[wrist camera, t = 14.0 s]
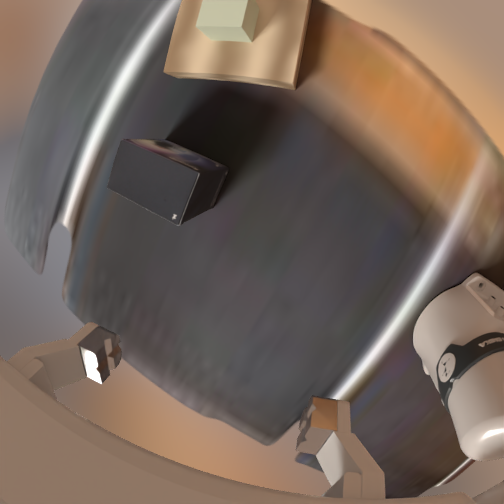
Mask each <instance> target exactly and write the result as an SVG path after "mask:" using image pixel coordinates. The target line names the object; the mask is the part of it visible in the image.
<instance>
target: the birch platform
mask: <svg viewBox="0 0 504 504" xmlns="http://www.w3.org/2000/svg"><path fill="white" fill-rule="evenodd" d="M202 1H203V0H182V2H181V5H180V9H179V12H178V16H177V19H176V23H175V27H174V30H173V34H172V38H171V42H170V46H169V50H168V55H167V59H166V63H165V68H164V73H167V74H169V75H171V76H174V77H176V78H193V79H211V80H224V81H235V82H244V83H252V84H260V85H267V86H274V87H280V88H286V89H292V90H295V89H296V84H297V79H298V73H299V68H300V63H301V57H302V52H303V47H304V41H305V36H306V30H307V25H308V20H309V14H310V9H311V3H312V0H256V2H257V5H258V7H259V14H258V18H257V22H256V27H255V31H254V36H253V40H252V42H238V41H215V40H210V39H209V38H208V37H207V36H206V35H205V34H204V33H203V32H201V31H200V30H199V29H198V28H197V27H196V23H197V19H198V15H199V12H200V8H201V5H202Z"/></svg>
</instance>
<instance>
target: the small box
mask: <svg viewBox="0 0 504 504" xmlns="http://www.w3.org/2000/svg"><path fill="white" fill-rule="evenodd" d="M228 171H229V168H228V167H226V166H224V165H222V164H220V163H218V162H216V161H213V160H211V159H209V158H207V157H205V156H202V155H200V154H198V153H196V152H193V151H191V150H189V149H187V148H184V147H182V146H180V145H177V144H175V143H173V142H170V141H168V140H163V139H122V140H121V142H120V145H119V148H118V151H117V154H116V157H115V160H114V164H113V167H112V171H111V174H110V178H109V182H108V185H107V188H108V189H110V190H112V191H114V192H115V193H117V194H119V195H121V196H123V197H125V198H127V199H128V200H130V201H132V202H134V203H136V204H138V205H140V206H142V207H143V208H145V209H147V210H149V211H151V212H153V213H155V214H157V215H158V216H160V217H162V218H164V219H166V220H168V221H170V222H172V223H174V224H176V225H177V226H179V225H182V224H183V223H184V222H186V221H188V220H190V219H192V218H194V217H195V216H197V215H199V214H201V213H203V212H205V211H207V210H209V209H212V208H214V205H215V201H216V200H217V197H218V194H219V192H220V189H221V187H222V185H223V183H224V181H225V179H226V177H227V173H228Z"/></svg>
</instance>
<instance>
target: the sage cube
mask: <svg viewBox="0 0 504 504" xmlns="http://www.w3.org/2000/svg"><path fill="white" fill-rule="evenodd" d="M258 14H259V7H258V5H257V2H256V0H203V1H202V5H201V8H200V12H199V15H198V19H197V23H196V27H197V28H198V29H199V30H200V31H201V32H203V33H204V34H205V35H206V36H207V37H208V38H209V39H210V40H215V41H238V42H252V40H253V36H254V31H255V27H256V22H257V18H258Z"/></svg>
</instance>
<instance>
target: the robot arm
mask: <svg viewBox="0 0 504 504" xmlns="http://www.w3.org/2000/svg"><path fill="white" fill-rule="evenodd" d="M480 283H481V285H480V286H479V284H480ZM119 343H120V336H119V335H118V334H116V333H114V332H111V331H109V330H107V329H105V328H103V327H101V326H99V325H97V324H95V323H93V322H89V323H87V324H86V325H85V326H84V327H82V328H81V329H80V330H79V331H78V332H77V333H76V334H74V335H73V336H72V337H71V338H70V339H68V340H67V339H62V340H58V341H54V342H49V343H44V344H40V345H35V346H30V347H25V348H23V349H21V350H20V351H19V352H18V353H17V354H15V355H14V356H13V357H12V358H11V359H9V360H8V361H5V360H4V359H3V358H2V357H1V356H0V504H504V481H502V482H500V483H499V484H497V485H495V486H494V487H492V488H490V489H489V490H487V491H485V492H483V493H481V494H480V495H478V496H476V497H474V498H470V497H469V496H468V495H467V494H465V493H464V492H453V493H447V494H441V495H434V496H424V497H414V498H398V499H385V480H384V472H383V471H382V470H381V468H380V467H379V466H378V465H377V463H376V462H375V461H374V459H373V458H372V457H371V455H370V454H369V453H368V451H367V450H366V449H365V447H364V446H363V445H362V443H361V442H360V441H359V439H358V438H357V437H356V435H355V434H353V433H351V424H350V403H349V402H348V401H342V400H336V399H330V398H324V397H319V396H313V395H312V396H311V397H310V399H309V401H308V407H306V408H305V409H304V411H303V414H302V417H301V420H300V425H299V430H300V432H301V433H300V435H299V436H298V438H297V445H296V451H299V452H304V453H309V454H315V455H316V457H317V459H318V461H319V463H320V465H321V467H322V469H323V471H324V473H325V475H326V477H327V479H328V481H329V482H330V484H331V488H330V489H329V490H327V491H326V492H325V493H324V494H323V495H322V496H311V495H304V494H296V493H290V492H284V491H279V490H273V489H268V488H263V487H259V486H254V485H250V484H245V483H242V482H237V481H234V480H230V479H226V478H223V477H219V476H216V475H213V474H209V473H206V472H203V471H200V470H197V469H194V468H191V467H188V466H186V465H183V464H180V463H178V462H175V461H172V460H170V459H167V458H165V457H162V456H160V455H157V454H155V453H153V452H150V451H148V450H146V449H144V448H141V447H139V446H137V445H135V444H133V443H131V442H129V441H127V440H125V439H123V438H121V437H119V436H116V435H115V434H113V433H111V432H109V431H107V430H105V429H103V428H102V427H100V426H98V425H96V424H94V423H93V422H91V421H89V420H88V419H86V418H84V417H82V416H81V415H79V414H77V413H76V412H74V411H73V410H71V409H70V408H68V407H66V406H65V405H63V404H62V403H60V402H59V401H57V398H56V395H55V393H54V390H57V389H59V388H62V387H64V386H66V385H69V384H71V383H74V382H76V381H79V380H81V379H84V378H86V376H87V377H89V378H91V379H93V380H95V381H97V382H99V383H101V384H102V383H103V382H104V381H105V380H106V379H107V377H108V376H109V375H110V370H112V369H115V368H116V367H117V366H118V365H119V363H120V360H121V356H122V351H121V348H120V347H119V345H118V344H119ZM413 344H414V347H415V350H416V352H417V353H418V355H419V356H420V357H421V359H422V362H423V369H424V371H425V373H426V374H428V375H430V376H431V378H432V380H433V382H434V384H435V385H436V387H437V389H438V391H439V393H440V395H441V398H442V399H441V400H442V403H443V405H444V406H445V408H446V410H447V412H449V413H450V414H451V417H452V420H453V423H454V426H455V430H456V433H457V436H458V440H459V443H460V447H461V449H462V451H463V452H464V453H465V454H466V455H467V456H468V457H469V458H471V459H474V460H479V461H490V460H497V459H502V458H504V290H502V289H501V288H499V287H498V286H497V285H495V284H494V283H492V282H491V281H489V280H488V279H486V278H485V277H483V276H482V275H480V274H479V273H474V274H472V275H471V276H469V277H468V278H467V279H466V280H465V281H464V282H463V283H462V284H460V285H458V286H456V287H454V288H451V289H449V290H447V291H445V292H443V293H442V294H440V295H439V296H437V297H436V298H435V299H434V300H432V301H431V302H430V303H429V304H428V305H427V307H426V308H425V309H424V310H423V312H422V313H421V315H420V317H419V318H418V320H417V323H416V325H415V328H414V333H413Z"/></svg>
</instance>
